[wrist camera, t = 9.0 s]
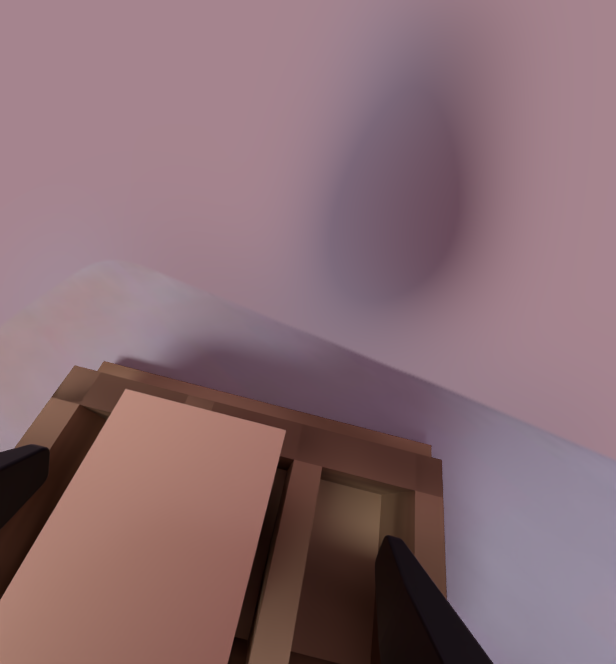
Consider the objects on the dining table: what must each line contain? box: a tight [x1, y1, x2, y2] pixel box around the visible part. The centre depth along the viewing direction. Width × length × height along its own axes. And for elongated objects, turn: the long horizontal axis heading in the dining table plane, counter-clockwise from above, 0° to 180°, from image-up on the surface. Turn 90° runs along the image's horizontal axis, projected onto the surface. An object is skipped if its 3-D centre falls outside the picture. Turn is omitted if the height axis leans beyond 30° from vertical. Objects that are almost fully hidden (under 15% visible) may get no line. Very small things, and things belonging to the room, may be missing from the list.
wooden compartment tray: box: [0, 361, 447, 664], centre depth 12 cm, size 13×20×5 cm, turn 78°
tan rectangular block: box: [0, 389, 286, 664], centre depth 8 cm, size 4×2×12 cm, turn 168°
